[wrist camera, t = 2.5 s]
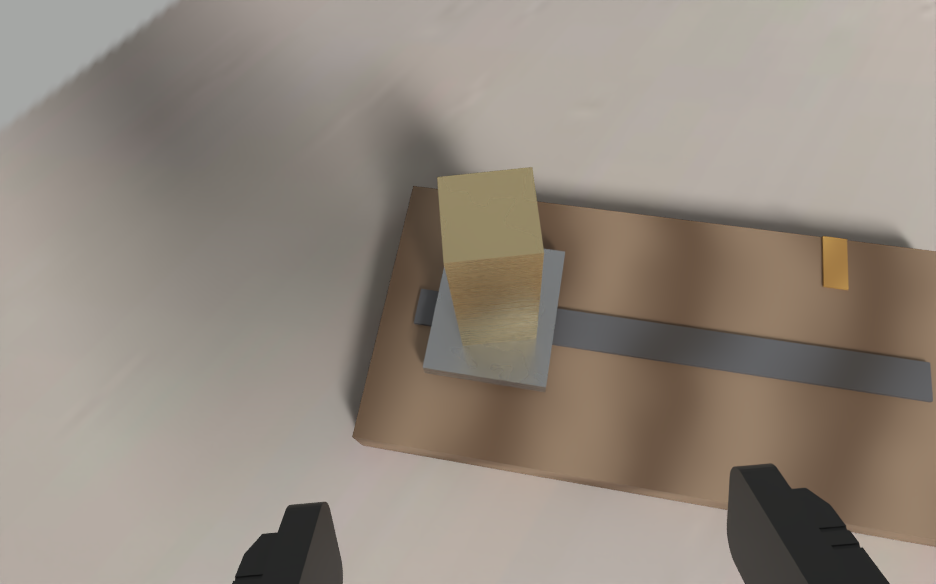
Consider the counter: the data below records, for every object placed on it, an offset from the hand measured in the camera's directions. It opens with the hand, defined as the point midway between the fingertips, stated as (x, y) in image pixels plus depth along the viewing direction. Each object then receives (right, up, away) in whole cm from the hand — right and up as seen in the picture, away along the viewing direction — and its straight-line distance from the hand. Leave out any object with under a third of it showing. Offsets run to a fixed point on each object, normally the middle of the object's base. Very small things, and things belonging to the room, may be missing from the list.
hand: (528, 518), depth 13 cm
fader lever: (0, +4, +15) cm, 16 cm away
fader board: (+7, +2, +17) cm, 18 cm away
